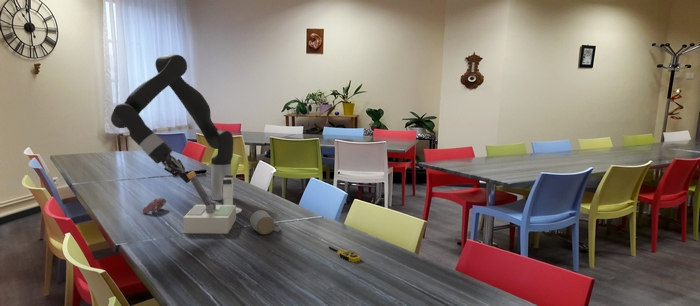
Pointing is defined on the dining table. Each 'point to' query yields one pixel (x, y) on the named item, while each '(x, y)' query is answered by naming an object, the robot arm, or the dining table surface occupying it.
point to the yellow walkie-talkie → (347, 255)
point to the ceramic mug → (263, 222)
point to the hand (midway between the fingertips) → (189, 181)
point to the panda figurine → (228, 192)
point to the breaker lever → (199, 188)
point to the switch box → (210, 218)
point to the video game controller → (154, 205)
